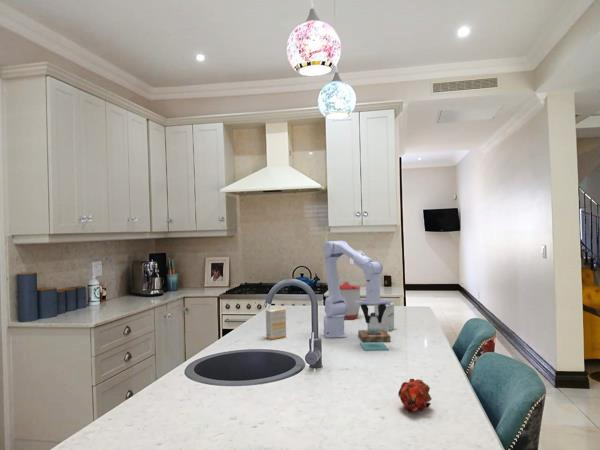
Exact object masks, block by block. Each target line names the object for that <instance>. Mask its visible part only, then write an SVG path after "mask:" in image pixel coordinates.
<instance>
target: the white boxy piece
mask: <svg viewBox="0 0 600 450" xmlns="http://www.w3.org/2000/svg"><path fill="white" fill-rule="evenodd" d="M373 307H374V312H373V313H376V315H378V305H373ZM394 329H395V303H393V302H391V305H386V310H385V311H384V314H383V317H382V321H381V323H379V330H385V331H386V332H387V333H388V332H389V331H391V330H394Z"/></svg>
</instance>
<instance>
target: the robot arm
mask: <svg viewBox="0 0 600 450" xmlns="http://www.w3.org/2000/svg"><path fill="white" fill-rule="evenodd" d="M348 244H349V243H348V242H347V241H345V240H342V239H340V240H327V241H325V242H324V244H323V246H322V251H323V258H324V259H323V260H324V266H325V275H326V283H327V289H328V297H327V298H326V299H325V300H324V313H325V315H326V316H324V318H323V334H324V337H325V338H327V339H329V338H331V339H332V338H334V339H335V338H346V337H347V335H346V333H345V319H344V316H345V314H346V313H347V311H348V307H347V304H346V301H345V298H344V297H343V296H342V295H341V294H340V286H339V285H340V282H339V281H340V280H339V273H338V265H337V261H338V260H339V259H340V258H341V257H342V256H343V255H345V256H347V257H348V258H350V259H352V260H353V263H354V265H355V266H357V267H358V268H359V269H361V270H362V272H363V274H364V279H365V282H366V283H365V299H362V300H361V299H360V300H359V301H356V306H360V308H361V310H362V313H363V315H364V320H365V324H367V323H368V315H369V306H374V305H378V315H379V323H381V321H382V317H383V314H384V311H385V310H386V305H391V303H392V302H391V301H392V300H390V299H381V277H380V276H381V275H382V273H383V270H384V269H383V264H382V263H381V262H380V261H379V260H373V258H370V257H368V256H367V255H366V253H365V252H357V251H356V250H355V249H354V248H352V247H351V246H350V245H348ZM334 301H338V302H334ZM333 302H334V303H333Z"/></svg>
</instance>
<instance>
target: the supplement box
mask: <svg viewBox="0 0 600 450" xmlns="http://www.w3.org/2000/svg"><path fill="white" fill-rule="evenodd" d="M286 312H287V310H286V308H284V307H283V308H282V307H277V308H270V309H265V329H266V330H265V332H266V333H265V334H266V337H265V338H266V339H268V340H270V341H272V340H278V339H282V338H283V339H285V338H287V317H286V316H287V313H286Z"/></svg>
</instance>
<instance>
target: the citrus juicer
mask: <svg viewBox="0 0 600 450" xmlns="http://www.w3.org/2000/svg"><path fill="white" fill-rule="evenodd" d="M339 286H340V294H341V295H342V296H343V297H344V298H345V301H346V304H347V307H348V311H347V313H346V314H345V316H344V320H355V319H356V318H358V316H359V312H360V308H361V306H356V301H359V300H361V286H359V285H351V284H350V283H349V282H348V281H345V282H343V284H342V285H340V284H339ZM334 302H338V301H334ZM334 302H333V303H334Z"/></svg>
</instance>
